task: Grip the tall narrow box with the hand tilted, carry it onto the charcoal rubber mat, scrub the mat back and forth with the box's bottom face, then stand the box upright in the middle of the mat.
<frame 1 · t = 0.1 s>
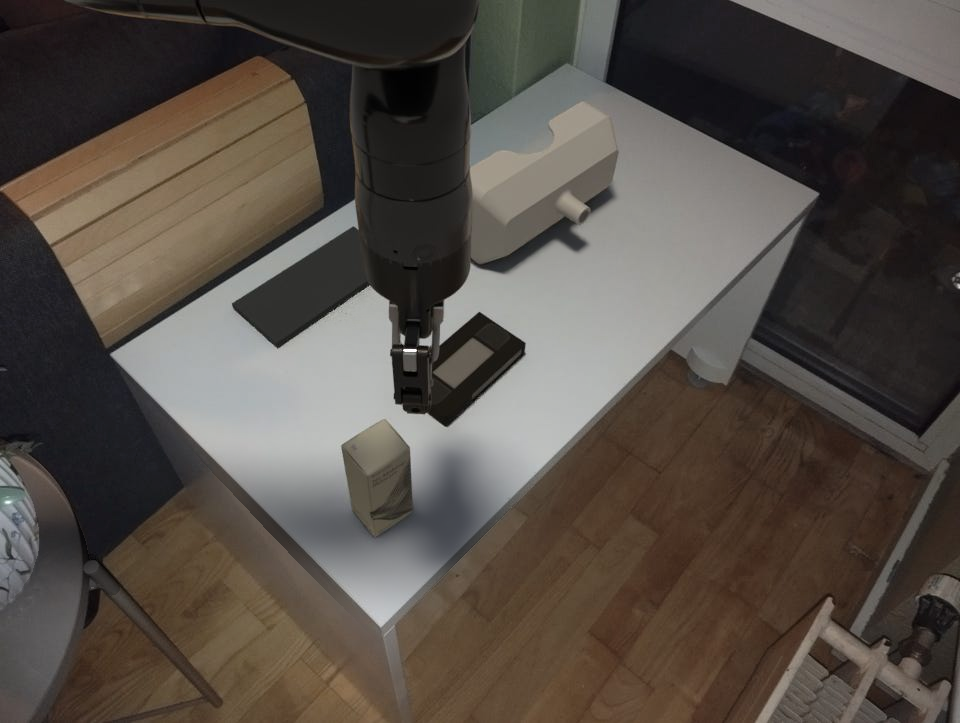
hand: (421, 366, 63), 23 cm above the table, tool pointing down, fingers open, 8 cm apart
box: (383, 510, 81), on the table
tank: (534, 222, 108), on the table
scrub mat: (318, 286, 99), on the table
vhs tape: (463, 372, 92), on the table
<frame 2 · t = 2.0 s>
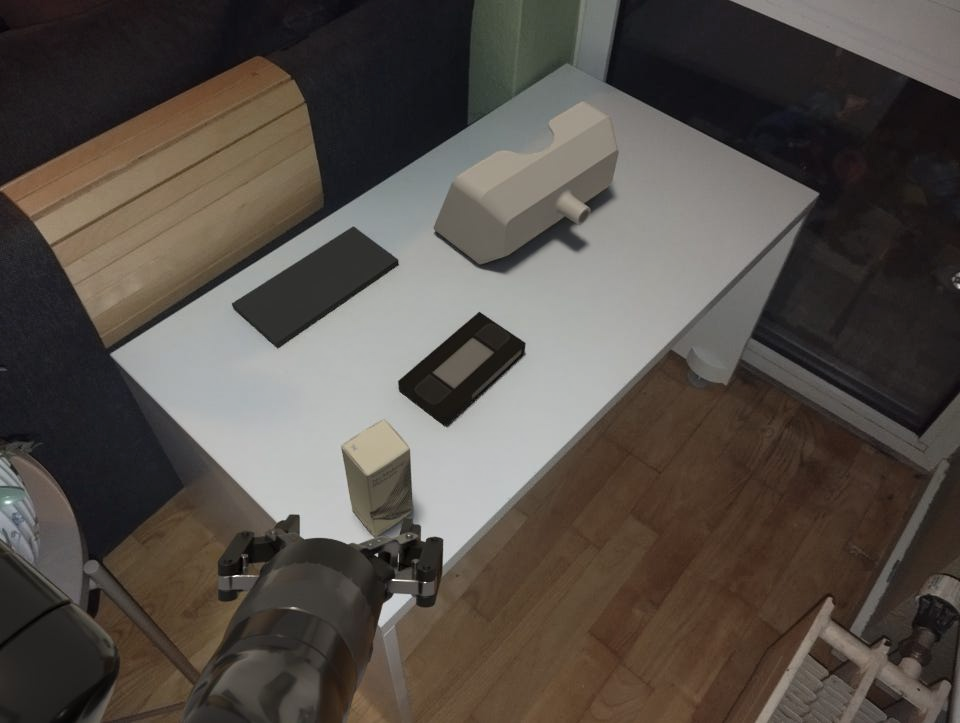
hand: (351, 528, 58), 20 cm above the table, tool tilted 45°, fingers open, 8 cm apart
nothing on the table moved.
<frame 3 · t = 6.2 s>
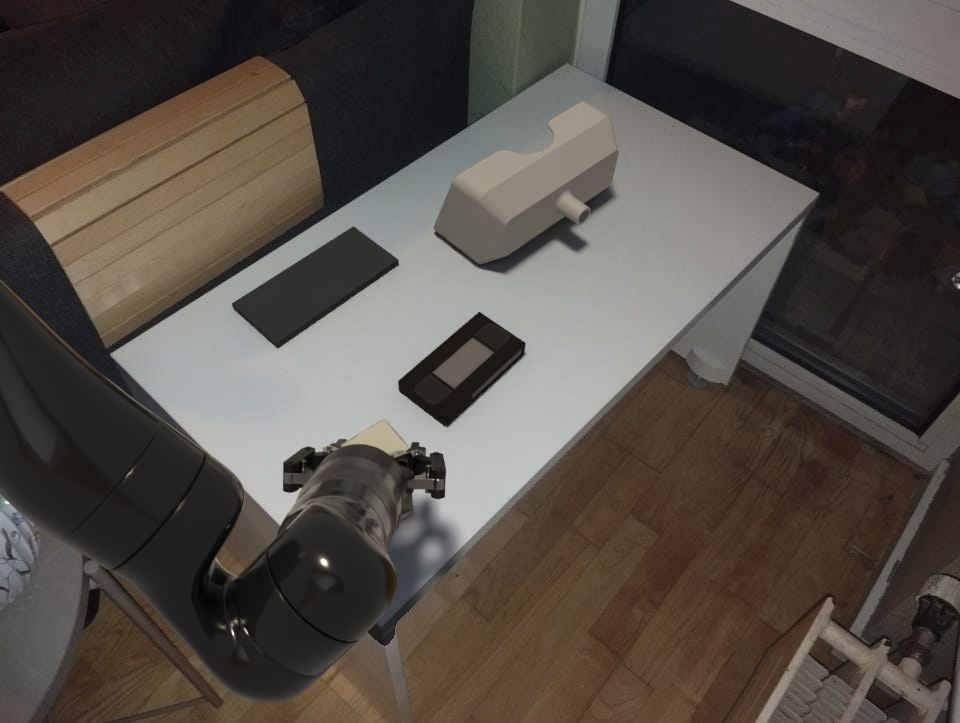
hand: (379, 450, 74), 9 cm above the table, tool tilted 45°, fingers closed on box, 6 cm apart
box: (383, 510, 81), on the table, touching gripper
everything else where it was.
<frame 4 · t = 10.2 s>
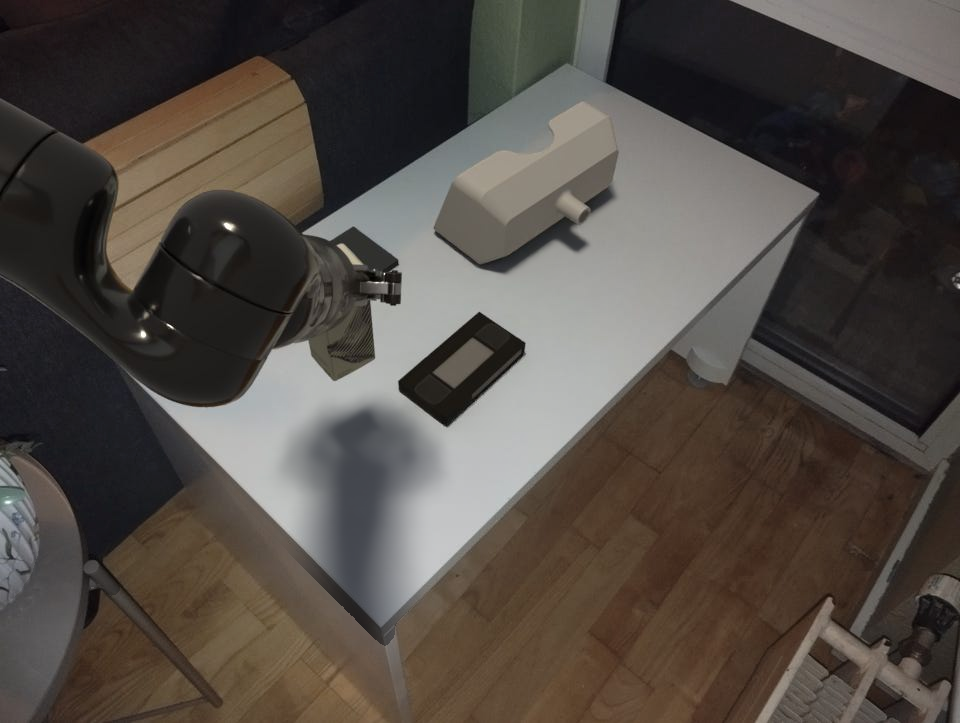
hand: (337, 280, 70), 22 cm above the table, tool tilted 45°, fingers closed on box, 6 cm apart
box: (344, 358, 77), point 12 cm above the table, touching gripper
everything else where it was.
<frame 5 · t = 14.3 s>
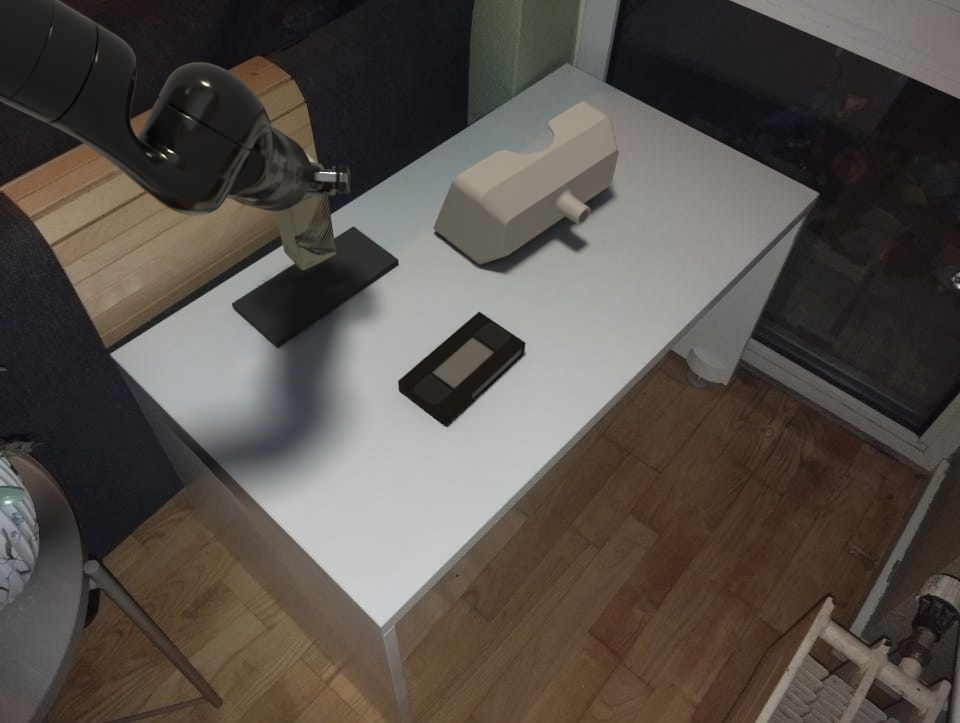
hand: (302, 184, 88), 15 cm above the table, tool tilted 45°, fingers closed on box, 6 cm apart
box: (311, 254, 95), point 6 cm above the table, touching gripper
everything else where it was.
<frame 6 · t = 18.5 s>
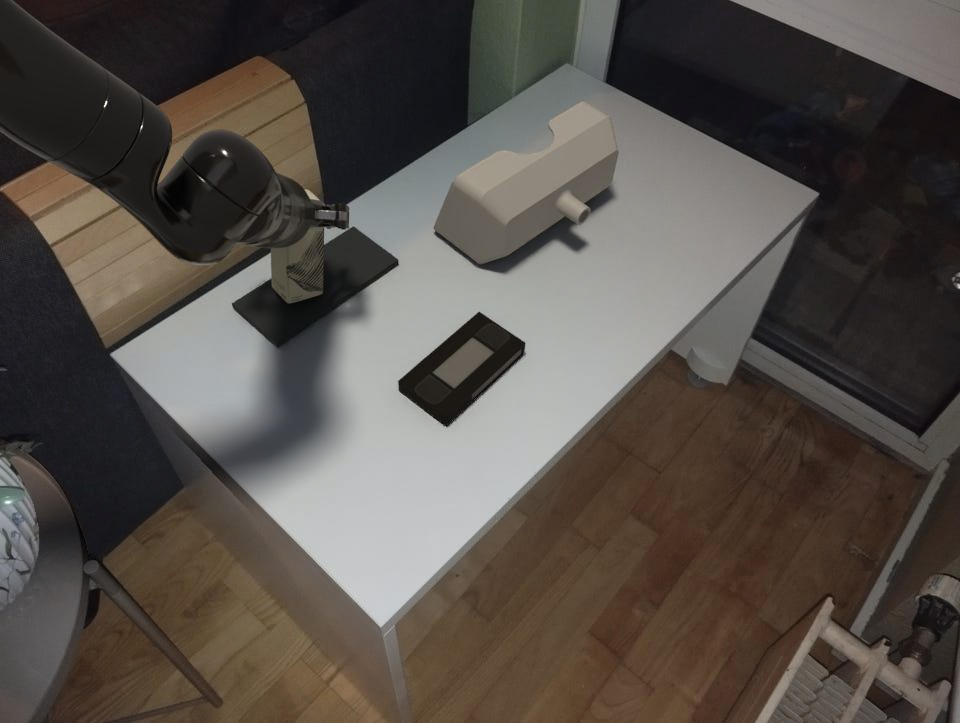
hand: (301, 216, 92), 10 cm above the table, tool tilted 45°, fingers closed on box, 6 cm apart
box: (298, 292, 97), point 1 cm above the table, touching gripper, scrub mat
everything else where it was.
when the fingers open (10 cm above the table, at t = 22.5 s): box stays where it is, resting on scrub mat.
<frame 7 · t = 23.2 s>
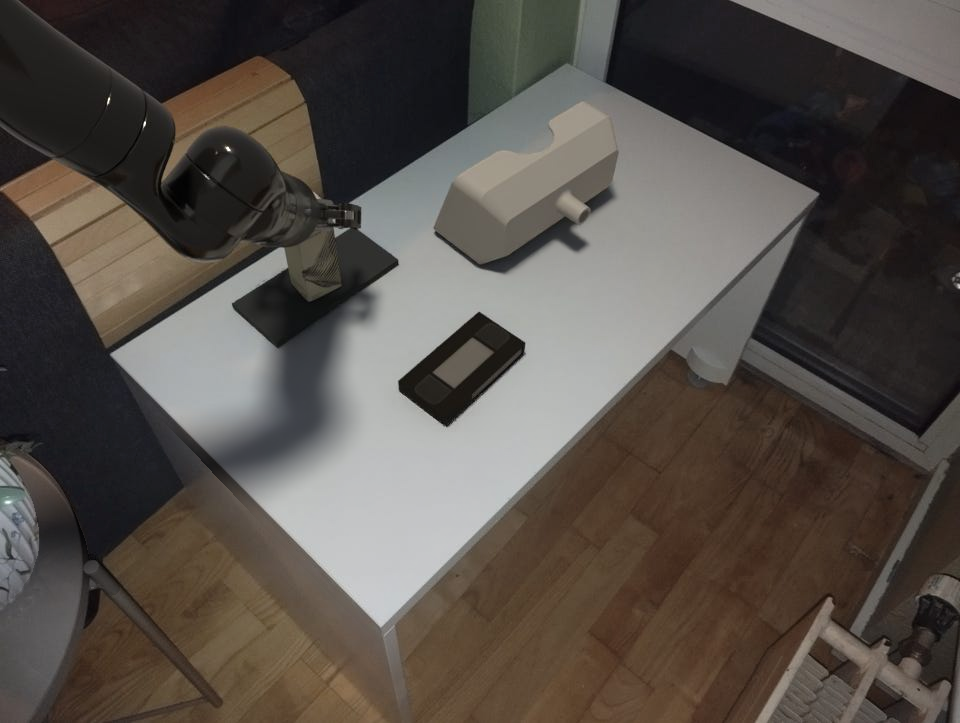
hand: (307, 217, 92), 11 cm above the table, tool tilted 45°, fingers open, 8 cm apart
box: (317, 285, 98), point 1 cm above the table, touching scrub mat
everything else where it was.
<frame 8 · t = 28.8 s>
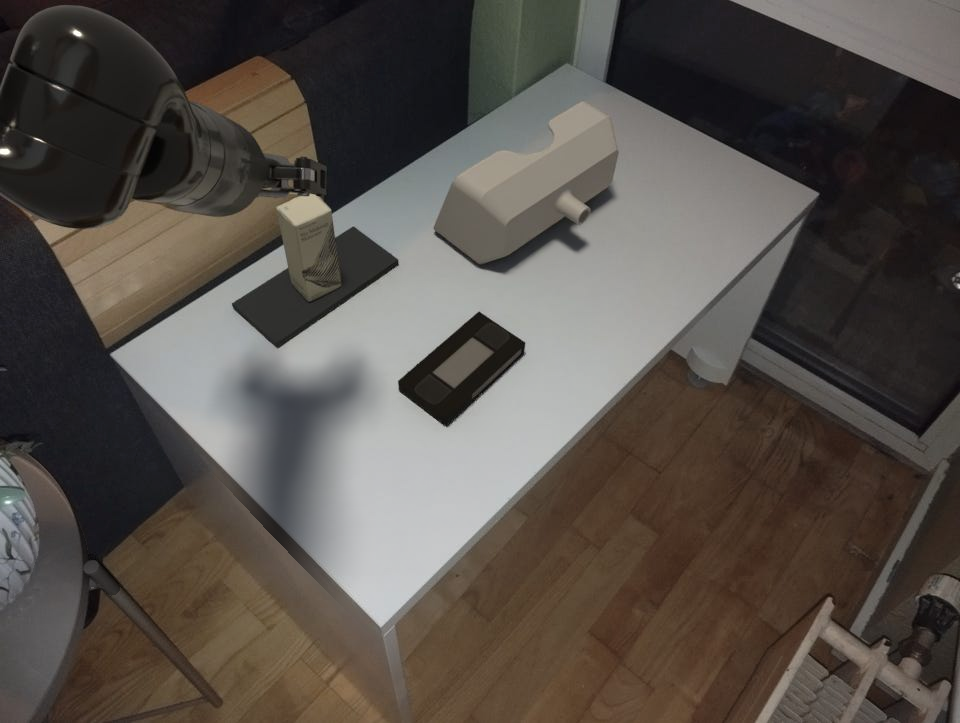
hand: (260, 182, 71), 27 cm above the table, tool tilted 45°, fingers open, 8 cm apart
nothing on the table moved.
at the end: box inside the target area on the scrub mat (0.7 cm from its centre), point 0.8 cm above the scrub mat's base; box tilted 0°; the gripper is holding nothing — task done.
